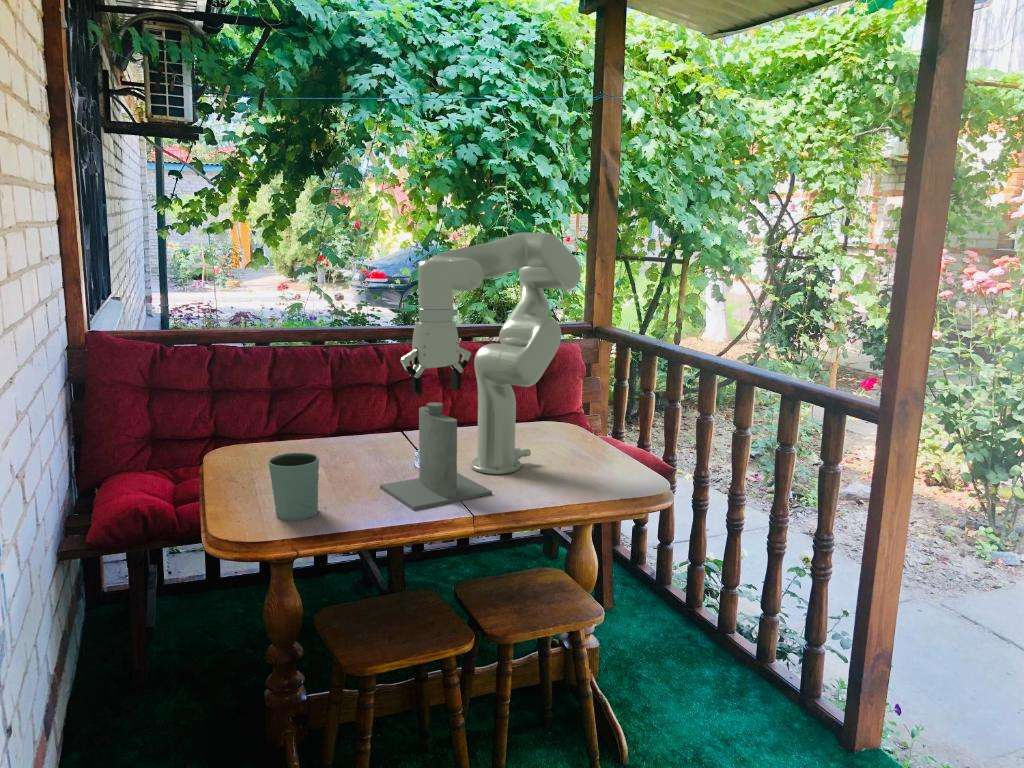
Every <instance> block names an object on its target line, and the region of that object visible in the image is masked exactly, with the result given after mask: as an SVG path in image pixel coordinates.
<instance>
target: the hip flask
mask: <svg viewBox="0 0 1024 768" xmlns="http://www.w3.org/2000/svg"><path fill="white" fill-rule="evenodd" d="M443 407H444V404H443V403H442V402H435V401H434V402H428V403H426V406H420V407H419V408H418V457H419V459H418V463H419V464H418V465H419V466H418V473H419V475H418V476H419V477H418V478H419V480H420V482H421V483H422V484H423V485H424V486H425V487H426V488H428V489H429V490H431V491H432V492H434V493H436V494H438V495H440V496H442V497H444V498H455V497H456V496H457V473H458V466H457V465H458V419H457V418H454V417H450V416H447V415H445V414H443Z"/></svg>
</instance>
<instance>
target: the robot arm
mask: <svg viewBox="0 0 1024 768" xmlns="http://www.w3.org/2000/svg"><path fill="white" fill-rule="evenodd" d="M417 266H418V267H417V276H418V277H417V279H418V281H417V283H418V286H417V287H418V321H417V322H414V328H413V332H412V333H413V334H412V341H411V342H412V343H411V346H412V347H411V351H410V352H408V353H406V354H405V355H403V356H402V357H401V358H400V359H399V361H400V363H401V364H402V367H403V369H404V371H405V372H406V373H407V374H408V375H409V376H410V377H411V391H412V392H413V394H414V395H416V396H422V395H423V378H422V377H421V375H422V373H423V372H424V371H425V370H426V369H436V368H445V367H450V368H451V369H452V370H451V371H450V388H451V389H453V390H454V391H461V385H462V373H463V372H464V369H465V368H466V367H467V365H469V360H470V358H471V356H472V352H471V351H469V350H467V349H465V348H463V347H462V346H460V341H459V334H458V329H457V324H456V321H455V319H454V317H455V316H458V313H459V311H458V309H454V292H456V291H457V292H472V291H474V290H476V289H477V288H479V287H480V286H481V284H482V283H483V282H484V279H494V278H500V277H503V276H505V275H507V274H510V273H512V272H515V271H517V270H518V278H519V279H518V280H519V286H520V287H519V288H520V289H519V290H520V291H519V293H520V295H519V296H520V297H519V300H518V302H517V304H516V306H515V307H514V308H513V309H512V311H511V313H510V314H509V316H508V317H507V319H506V321H505V322H504V323H503V324H502V327H501V328H500V331H499V335H498V340H499V342H500V343H487V344H484V345H483V346H480V348H479V349H478V350H477V352H476V353H475V356H474V361H473V365H474V372H475V378H476V383H477V385H476V386H477V458H474V459H473V460H472V461H471V465H470V466H471V468H472V469H473V470H474V471H476V472H479V473H482V474H488V475H489V474H490V475H493V474H494V475H503V474H511V473H514V472H517V471H519V470H520V469H521V467H522V464H521V461H520V459H521V458H523V457H524V458H525V457H530V456H531V454H532V450H531V449H530V448H525V449H521V448H519V447H517V448H516V417H517V411H516V410H517V401H516V394H515V391H514V389H513V387H512V386H517V387H527V388H529V387H532V386H534V385H536V383H538V382H539V381H540V379H541V378H542V376H543V375H544V373H545V371H547V368H548V367H549V365H550V363H551V362H552V360H553V359H554V358H555V355H556V353H558V351H559V348H560V345H561V341H562V329H561V328H562V327H561V326H560V324H559V323H558V322H557V321H556V320H555V318H551V317H549V314H550V305H549V301H548V300H547V298H546V296H545V292H544V290H545V289H546V290H559V291H561V290H562V291H567V290H572V289H574V288H576V287H577V286H578V284H579V283H580V280H581V278H582V277H581V276H582V270H581V266H580V263H579V261H578V260H577V258H576V257H575V256H574V255H573V253H572V252H571V251H570V250H569V249H568V248H567V247H566V246H565V244H564V243H563V242H562V241H561V240H560V239H559V238H558V237H557V236H555V235H553V234H551V233H548V232H527V231H526V232H515V233H512V234H510V235H507V236H503V237H502V238H498V239H496V240H493V241H490V242H485V243H481V244H476V245H475V244H474V245H472V246H466V247H461V248H455V249H451V250H448V251H444V252H441V253H439V254H435V255H433V256H431V257H430V258H429V259H423V260H421V261H420V262H419V263H418V265H417ZM460 355H462V357H461V359H460ZM410 362H411V363H412V365H413V367H412V365H411V364H410Z"/></svg>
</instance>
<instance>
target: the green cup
mask: <svg viewBox="0 0 1024 768" xmlns="http://www.w3.org/2000/svg"><path fill="white" fill-rule="evenodd" d="M267 462H268V467H269V474H270V480H271V485H272V486H271V487H272V488H271V489H272V494H273V503H274V506H275V507H274V510H275V515H276V518H278V519H279V518H280V520H283V521H288V520H289V521H290V522H293V521H294V522H295V521H296V522H297V521H304V520H308V519H310V517H311V518H313V517H315V516H316V515H317V514H318V513H319V510H318V509H319V500H318V499H319V479H320V478H319V476H320V475H319V470H320V469H319V467H320V456H318V455H317V454H315V453H311V452H289V453H284V454H279V455H275V456H273V457H271V458H270V459H269V460H268V461H267ZM307 518H308V519H307ZM303 519H304V520H303Z"/></svg>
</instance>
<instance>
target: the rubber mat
mask: <svg viewBox="0 0 1024 768" xmlns="http://www.w3.org/2000/svg"><path fill="white" fill-rule="evenodd" d="M379 488H380V489H381V490H382V491H383V492H386V493H387V494H388V495H390V496H391V497H393V498H394V499H396V500H397V501H398V502H401V503H402V504H403V505H404V506H406V507H408V508H409V509H411V510H412V511H417V510H418V511H419V510H422V509H426V508H432V507H436V505H437V506H441V505H440V504H442V505H446V504H445V503H447V504H451V503H450V502H452V503H456V501H457V502H460V501H461V500H462V501H466V500H465V499H467V500H471V499H470V498H472V499H476V498H475V497H477V498H481V497H480V496H482V497H486V496H485V495H487V496H491V495H490V494H493V491H492V490H491V489H489V488H487V487H485V486H484V485H481V484H479V483H478V482H476V481H473V480H472V479H470V478H468V477H466V476H464V475H462V474H461V473H459V472H457V496H456V497H455V498H444V497H442V496H440V495H438V494H436V493H434V492H432V491H431V490H429V489H428V488H426V487H425V486H424V485H423V484H422V483H421V482H420V480H419V477H418V478H417V477H416V478H411V479H405V480H399V481H394V482H388V483H383V484H379ZM431 506H432V507H431Z"/></svg>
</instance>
